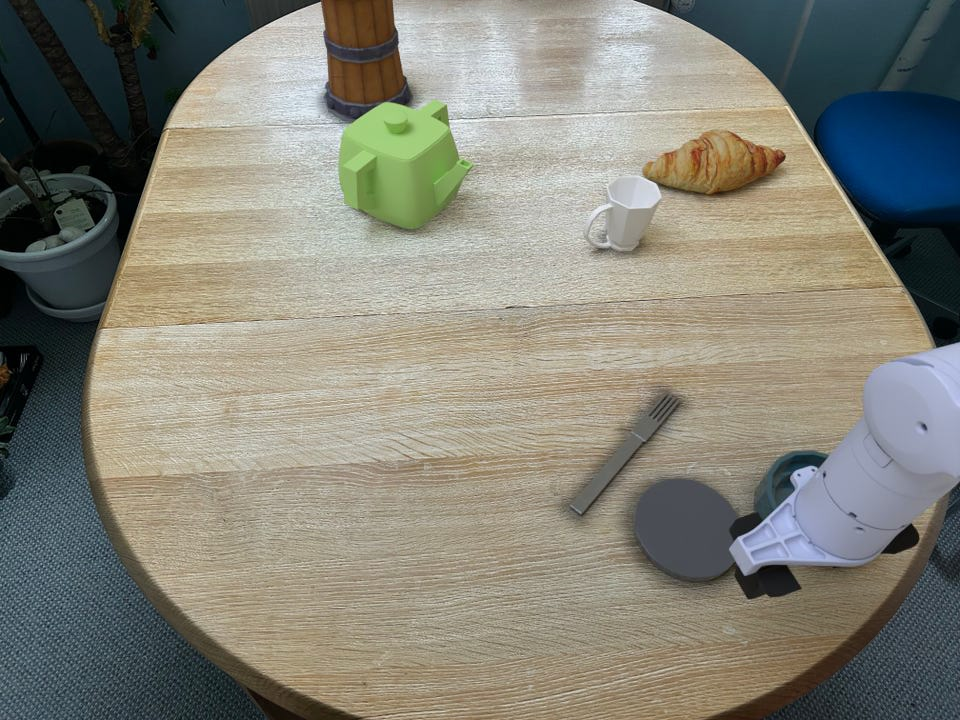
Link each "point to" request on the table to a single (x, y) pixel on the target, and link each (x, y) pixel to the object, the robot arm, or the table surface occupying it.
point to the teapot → (401, 163)
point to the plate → (685, 529)
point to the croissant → (714, 163)
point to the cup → (626, 211)
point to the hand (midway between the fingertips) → (787, 570)
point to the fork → (624, 453)
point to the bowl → (783, 479)
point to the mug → (362, 57)
